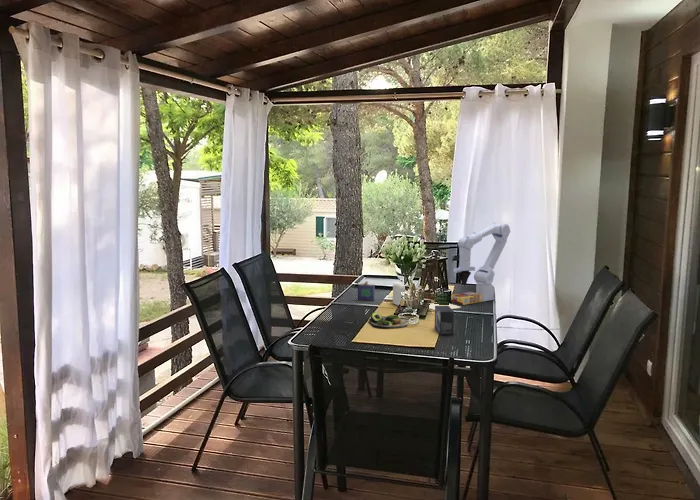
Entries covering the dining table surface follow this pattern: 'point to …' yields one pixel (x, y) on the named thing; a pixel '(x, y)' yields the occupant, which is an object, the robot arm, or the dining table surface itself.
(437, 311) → the small box
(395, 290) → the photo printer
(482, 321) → the dining table surface
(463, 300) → the candy box
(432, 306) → the mat
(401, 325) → the salad plate
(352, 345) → the dining table surface
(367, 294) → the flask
